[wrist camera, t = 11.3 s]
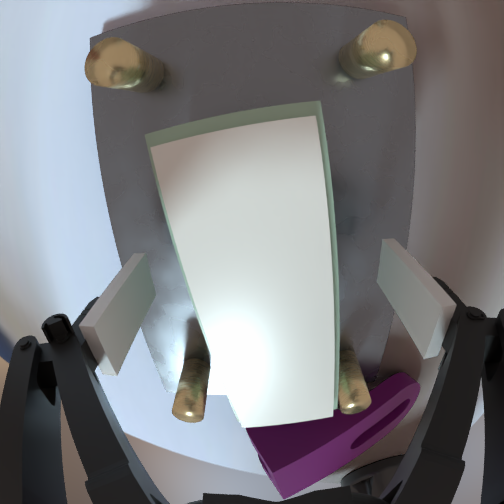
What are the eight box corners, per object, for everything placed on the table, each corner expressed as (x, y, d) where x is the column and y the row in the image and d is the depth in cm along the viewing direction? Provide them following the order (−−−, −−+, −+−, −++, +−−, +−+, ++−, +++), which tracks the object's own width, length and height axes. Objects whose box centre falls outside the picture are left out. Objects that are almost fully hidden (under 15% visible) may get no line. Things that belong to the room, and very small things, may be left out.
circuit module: (319, 333, 22) (339, 419, 14) (242, 344, 22) (237, 432, 15) (293, 108, 15) (325, 98, 8) (189, 128, 16) (135, 136, 8)
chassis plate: (370, 370, 26) (389, 421, 20) (169, 381, 27) (155, 433, 21) (396, 22, 13) (446, -5, 7) (100, 41, 14) (45, 22, 8)
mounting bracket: (374, 329, 31) (231, 406, 25) (428, 366, 24) (272, 472, 18) (368, 379, 35) (249, 447, 29) (410, 415, 28) (283, 499, 22)
